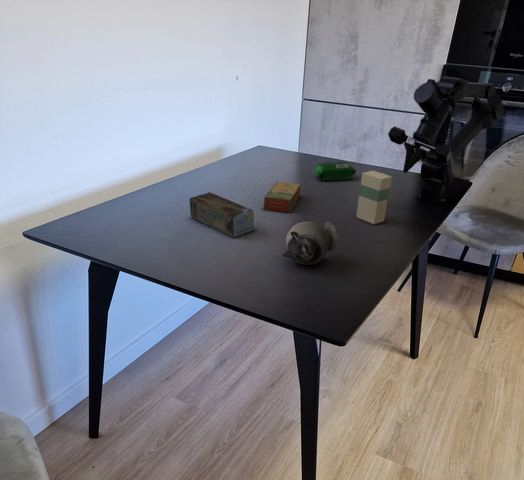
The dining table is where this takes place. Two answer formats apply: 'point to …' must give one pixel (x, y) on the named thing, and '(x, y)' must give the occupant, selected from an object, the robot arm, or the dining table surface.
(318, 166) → the snack package
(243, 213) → the beverage carton
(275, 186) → the carton
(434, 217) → the dining table surface
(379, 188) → the tea box
